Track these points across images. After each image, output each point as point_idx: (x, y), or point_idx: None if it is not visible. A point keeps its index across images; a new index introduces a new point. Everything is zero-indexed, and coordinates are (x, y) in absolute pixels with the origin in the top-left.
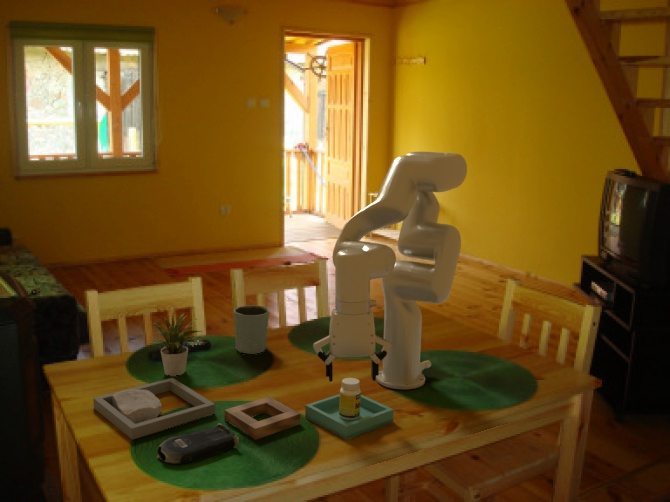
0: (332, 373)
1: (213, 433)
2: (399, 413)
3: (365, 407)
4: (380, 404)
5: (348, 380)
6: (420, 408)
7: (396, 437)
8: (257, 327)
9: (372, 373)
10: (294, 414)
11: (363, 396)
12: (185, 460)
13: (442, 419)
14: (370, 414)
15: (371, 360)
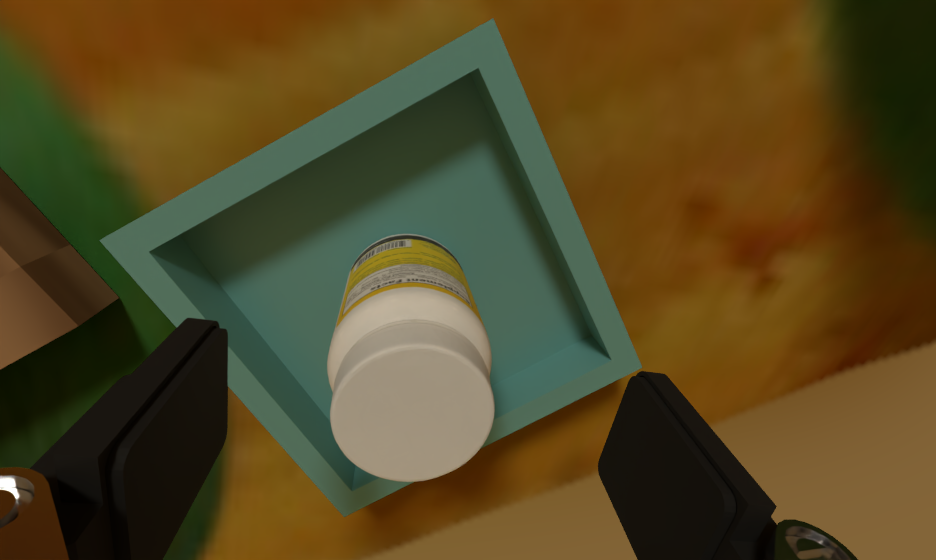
0: (190, 506)
1: None
2: (684, 246)
3: (528, 196)
4: (601, 298)
5: (395, 406)
6: (813, 205)
7: (566, 460)
8: None
9: (624, 509)
10: (36, 333)
11: (542, 163)
12: None
13: (829, 334)
14: (527, 282)
15: (720, 504)
